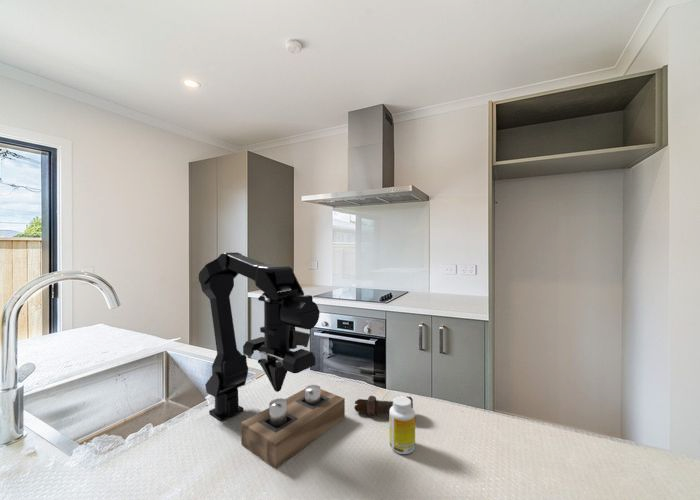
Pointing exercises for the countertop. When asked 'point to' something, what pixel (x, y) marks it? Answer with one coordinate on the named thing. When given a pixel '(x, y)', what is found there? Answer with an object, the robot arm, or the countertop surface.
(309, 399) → the peg short
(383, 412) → the bolt
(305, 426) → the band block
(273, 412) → the peg tall
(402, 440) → the supplement bottle
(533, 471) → the countertop surface
